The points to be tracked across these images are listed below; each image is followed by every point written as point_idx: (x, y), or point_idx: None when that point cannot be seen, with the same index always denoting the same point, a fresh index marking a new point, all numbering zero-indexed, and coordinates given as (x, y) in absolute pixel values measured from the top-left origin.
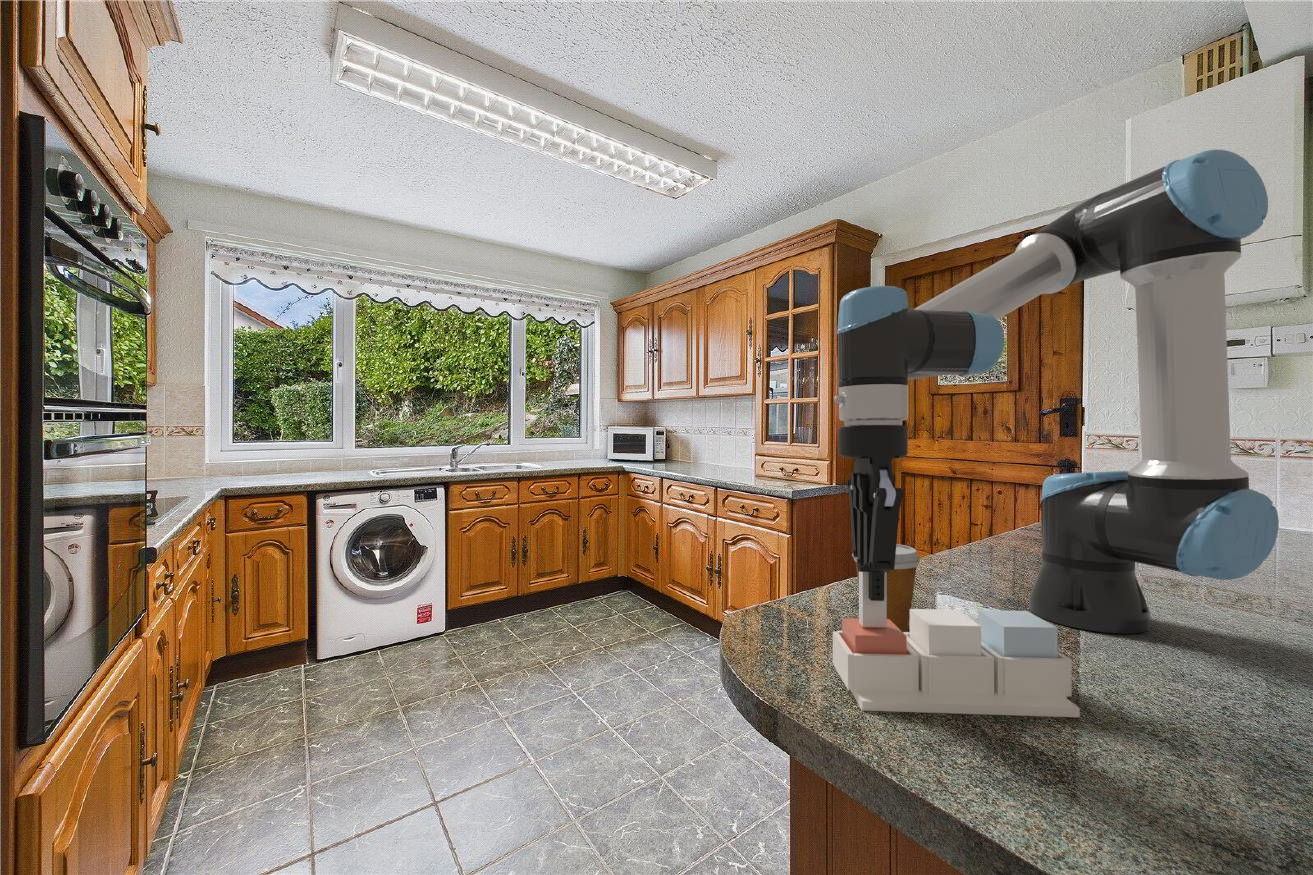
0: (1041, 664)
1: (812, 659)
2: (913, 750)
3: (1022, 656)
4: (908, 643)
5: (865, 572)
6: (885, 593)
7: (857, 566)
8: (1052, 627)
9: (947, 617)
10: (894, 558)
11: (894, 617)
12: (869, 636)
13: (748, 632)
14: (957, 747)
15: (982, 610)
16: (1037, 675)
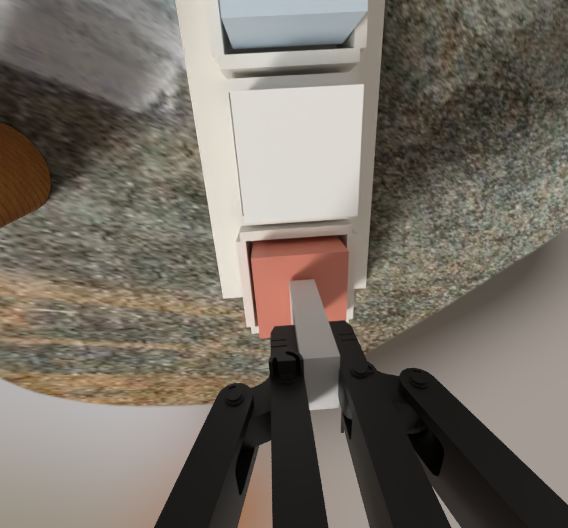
0: None
1: (216, 317)
2: (446, 248)
3: None
4: (288, 222)
5: (338, 399)
6: (326, 319)
7: (343, 430)
8: None
9: (301, 150)
10: (457, 402)
11: (22, 167)
12: (345, 310)
13: (134, 388)
14: (446, 197)
15: (221, 2)
16: None
